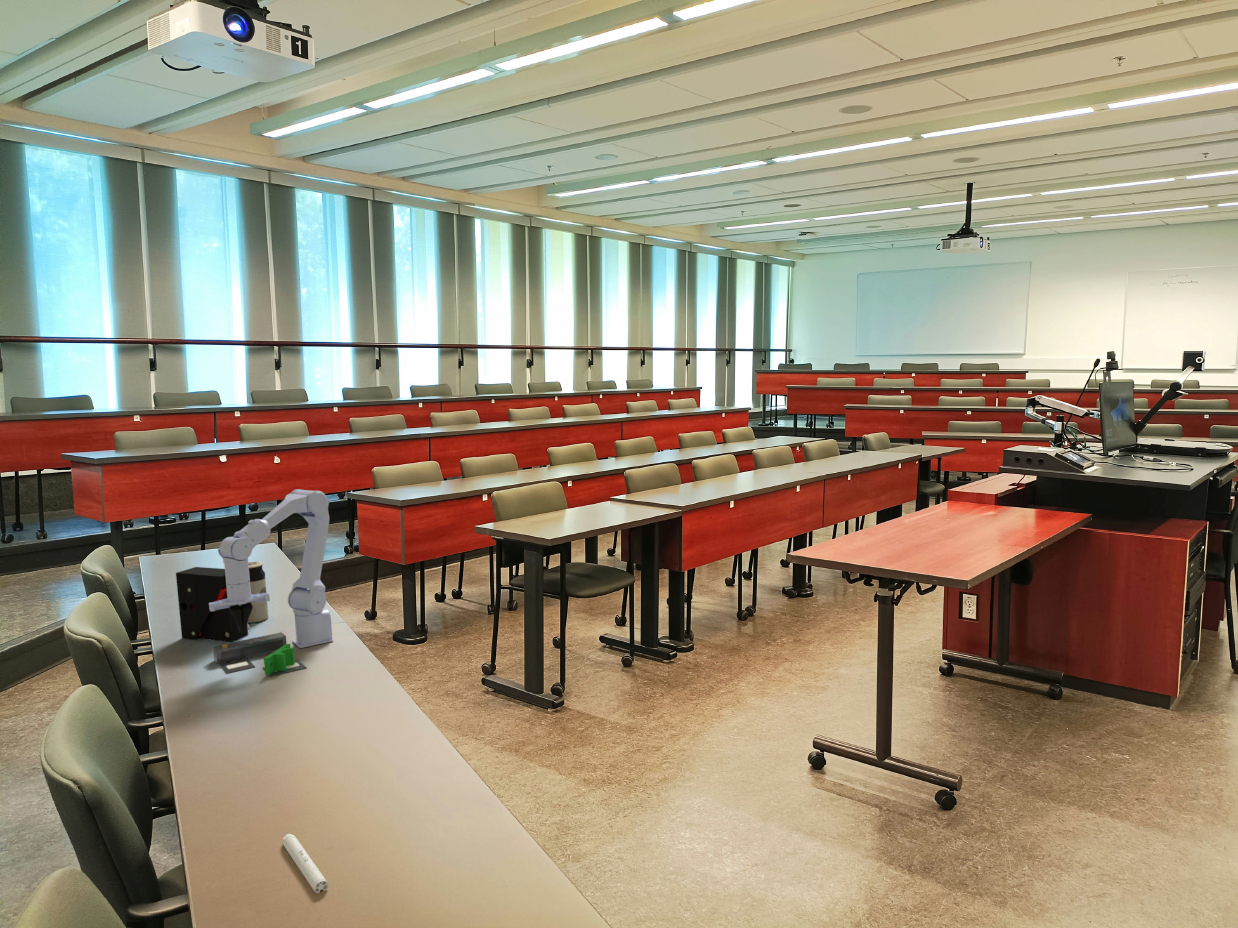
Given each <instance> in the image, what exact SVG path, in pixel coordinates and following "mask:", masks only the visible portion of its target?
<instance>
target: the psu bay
mask: <svg viewBox="0 0 1238 928" xmlns="http://www.w3.org/2000/svg"><path fill="white" fill-rule="evenodd" d="M285 644H288V643H287V636H286V634H284V633H283V631H282V632H277V633H272V634H267V635H261V636H257V637H252V638H247V639H242V640H236V641H234V642H226V643H223V644H218V645H213V646H212V651H213V652H212V653H213V662H215V664H216V663H217V664H219V665H220V664H223V663H224V664H225V663H227V662H229V663H230V662H234V661H239V660H244V659H252V658H256V657H261V656H265V655H270V654H271V653H273V652H274V651H276V650H277V649H279V648H281V647H282V646H284V645H285ZM217 664H216V665H217Z"/></svg>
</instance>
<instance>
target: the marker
mask: <svg viewBox="0 0 1238 928" xmlns="http://www.w3.org/2000/svg"><path fill="white" fill-rule="evenodd" d="M282 843H283V847H284V848H285V850H286V851H287V852H288V855H289V856H290V857H291V858H292V860H293V862H294V863H295V864H296V866H297V868H298V869H299V871H300V872H301V874H302V875H303V876H304V878H305V879H306V881H307V883H308V884H309V885H310V887H311V889H312V890H313V892H315V894H320V892H321V891H322V890H323V892H324V891H327V890H328V888H329V883H328V881H327V879H326V878H325V876H324V875H323V874H322V872H321V871H320V869H319V868H318V867H317V865H316V864H315V863H314V861H313V860H312V858H311V856H310V855H309V854H308V852H307V851H306V850H305V848H304V847H303V845H302V843H300V841H299V839H297V837H296V836H295V835H294V834H291V833H288V834H285V835H284V837H283V838H282Z"/></svg>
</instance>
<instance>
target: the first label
mask: <svg viewBox="0 0 1238 928" xmlns="http://www.w3.org/2000/svg"><path fill="white" fill-rule="evenodd" d="M219 666H220V667H221V668H222V669H224V670H223V671H224V673H225V674H232V673H235V672H241V671H245V670H249V669H254V668H256V666H255V664H253V662H252V661H251V660H250V658H247V659H243V660H238V661H233V662H229V663H224V664H219Z"/></svg>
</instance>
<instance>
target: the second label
mask: <svg viewBox="0 0 1238 928" xmlns="http://www.w3.org/2000/svg"><path fill="white" fill-rule="evenodd" d="M262 669H263V670H264V671H265V666H263V667H262ZM304 669H305V670H306V669H307V666H306V665H305V664H304V663H303V662H301V661H300V660H299V659H295V664H294V665H288V666H286V671H275V672H273V673H272V674H270V675H269V676H270V677H275V676H279V675H283V674H287V673H293V672H296V671H300V670H304Z"/></svg>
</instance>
